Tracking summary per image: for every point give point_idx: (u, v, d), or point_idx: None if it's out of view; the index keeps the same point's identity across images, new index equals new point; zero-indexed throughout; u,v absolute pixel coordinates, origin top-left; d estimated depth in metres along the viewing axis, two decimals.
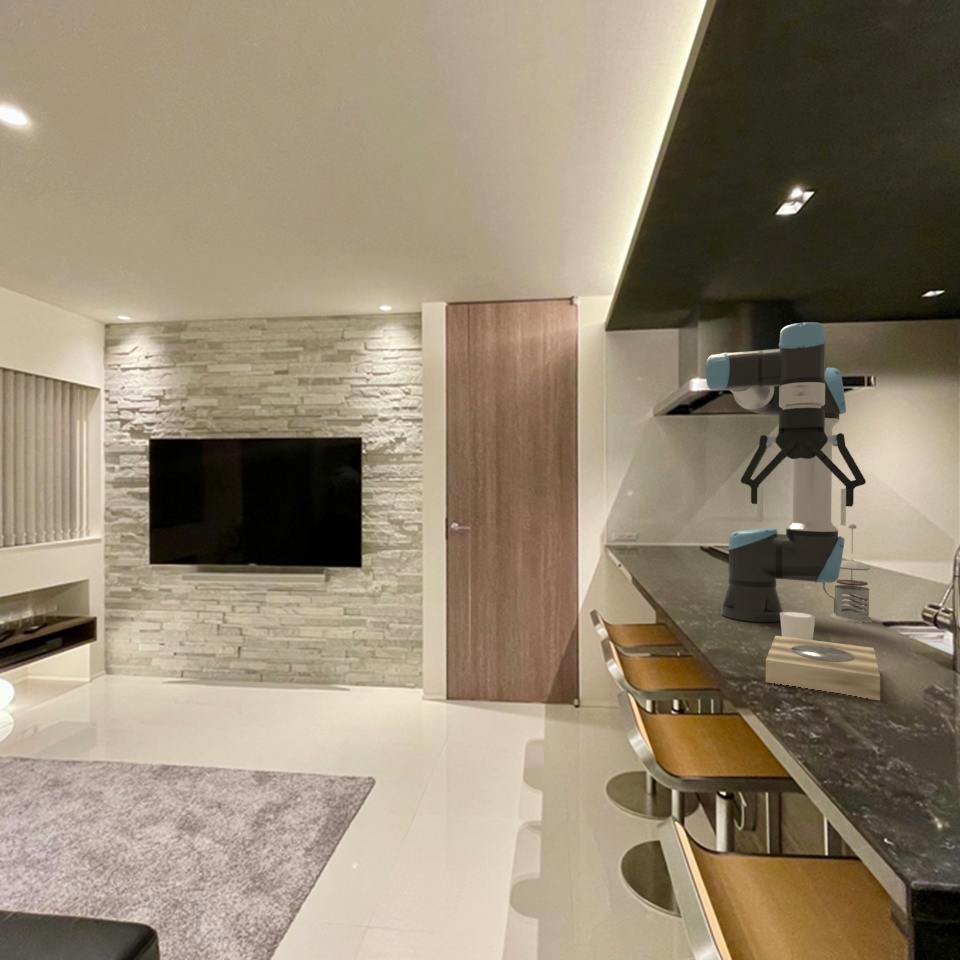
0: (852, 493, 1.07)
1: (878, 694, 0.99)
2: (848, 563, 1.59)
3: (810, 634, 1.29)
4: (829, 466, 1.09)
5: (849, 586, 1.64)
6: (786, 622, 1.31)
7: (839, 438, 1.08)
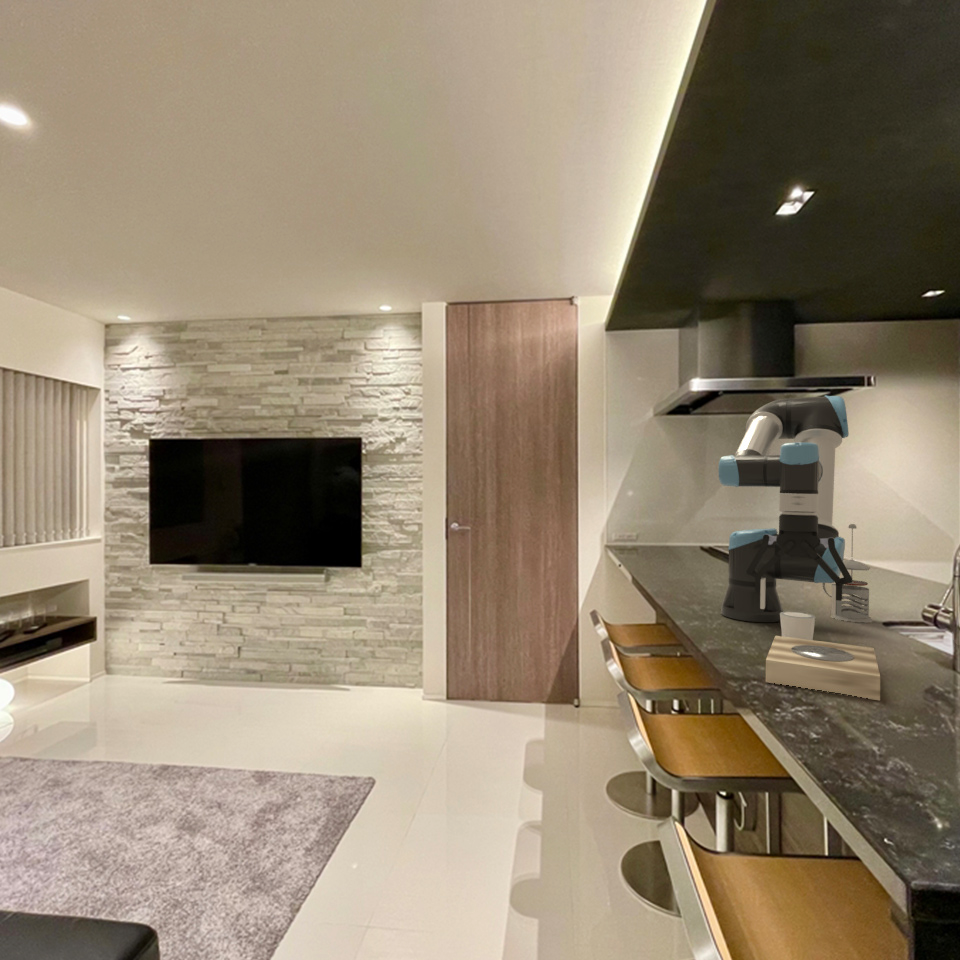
0: (841, 589, 1.27)
1: (878, 694, 0.99)
2: (848, 563, 1.59)
3: (810, 634, 1.29)
4: (821, 565, 1.28)
5: (849, 586, 1.64)
6: (786, 622, 1.31)
7: (830, 542, 1.28)
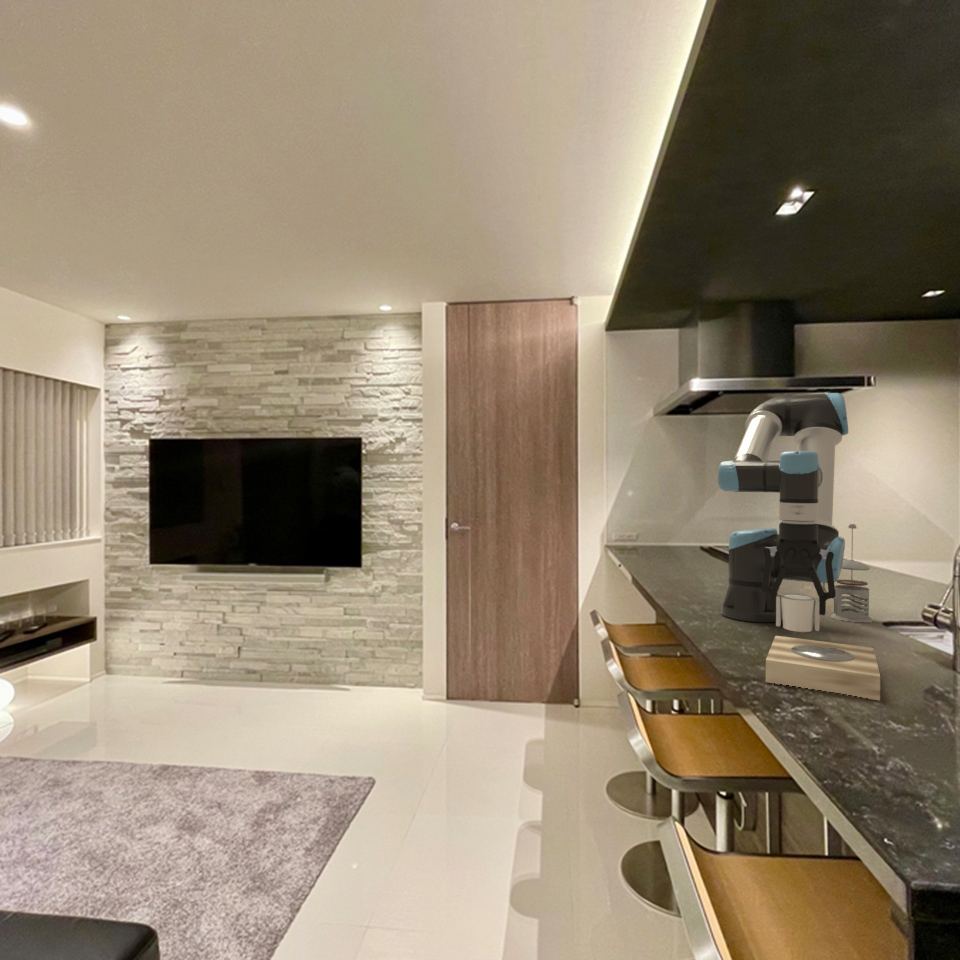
0: (824, 604, 1.29)
1: (878, 694, 0.99)
2: (848, 563, 1.59)
3: (810, 616, 1.30)
4: (812, 577, 1.30)
5: (849, 586, 1.64)
6: (787, 604, 1.31)
7: (829, 555, 1.28)
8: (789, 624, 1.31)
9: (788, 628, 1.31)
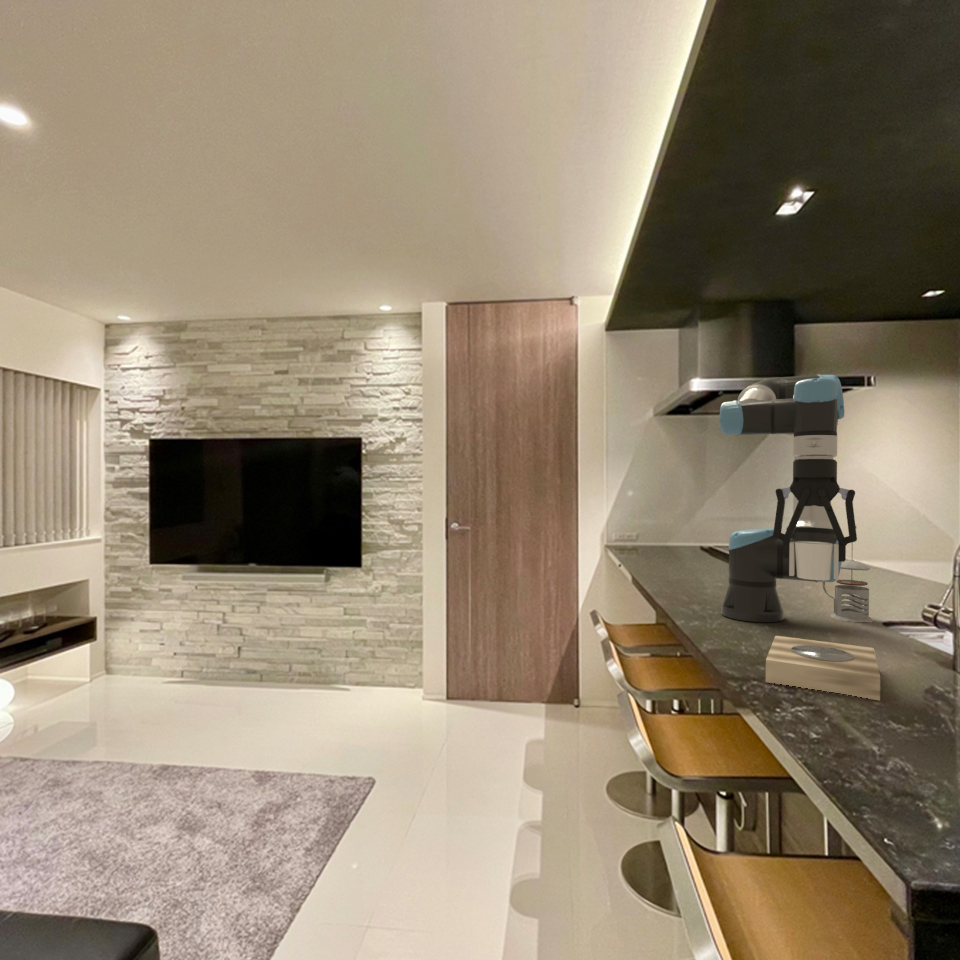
0: (844, 549, 1.15)
1: (878, 694, 0.99)
2: (848, 563, 1.59)
3: (828, 562, 1.15)
4: (831, 519, 1.16)
5: (849, 586, 1.64)
6: (801, 550, 1.17)
7: (850, 494, 1.14)
8: (804, 572, 1.16)
9: (803, 577, 1.17)
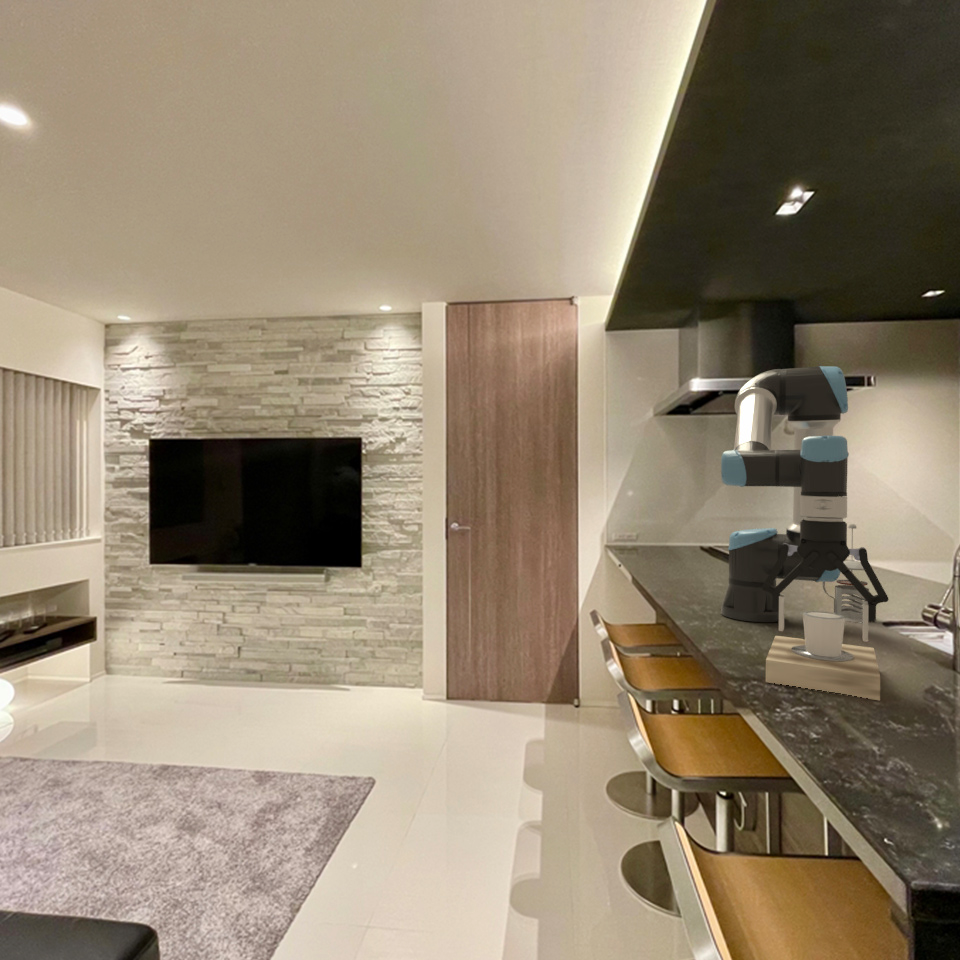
0: (874, 609, 1.07)
1: (878, 694, 0.99)
2: (848, 563, 1.59)
3: (839, 638, 1.09)
4: (851, 580, 1.09)
5: (849, 586, 1.64)
6: (811, 624, 1.11)
7: (862, 553, 1.08)
8: (814, 648, 1.11)
9: (812, 652, 1.11)
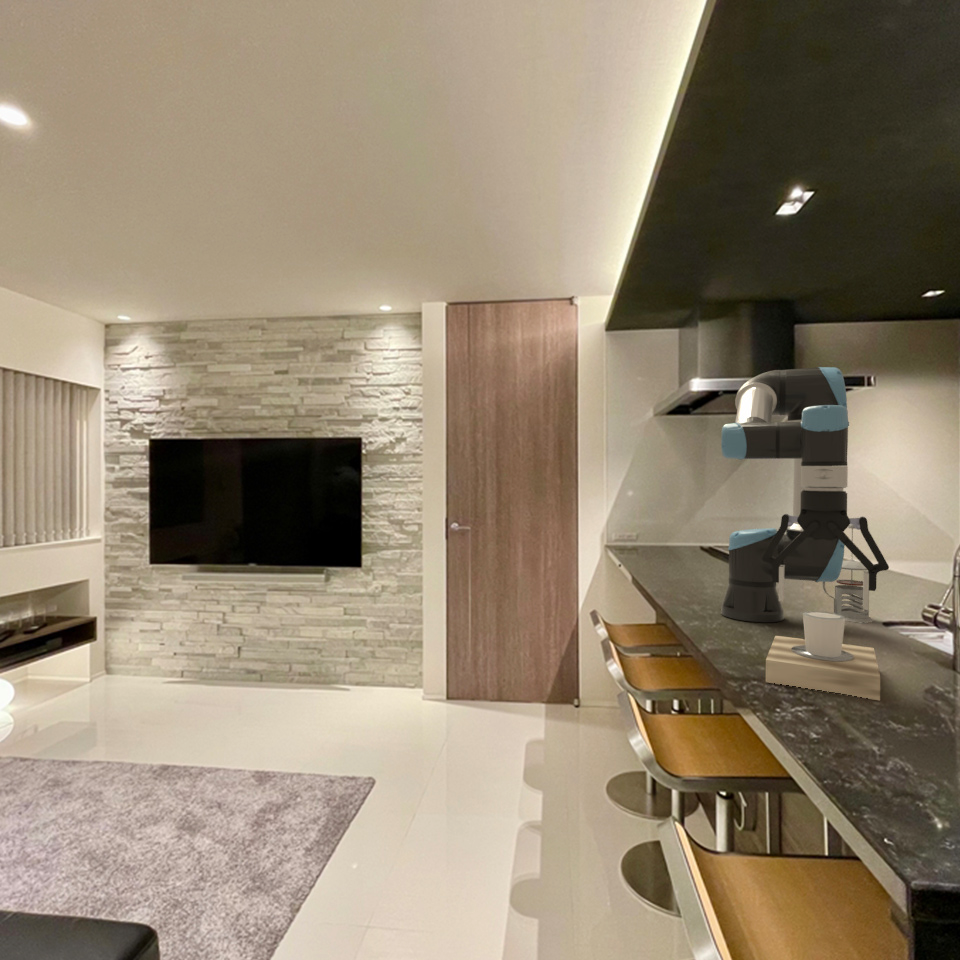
0: (875, 577, 1.08)
1: (878, 694, 0.99)
2: (848, 563, 1.59)
3: (839, 638, 1.09)
4: (852, 550, 1.09)
5: (849, 586, 1.64)
6: (811, 624, 1.11)
7: (862, 522, 1.08)
8: (814, 648, 1.10)
9: (812, 652, 1.11)
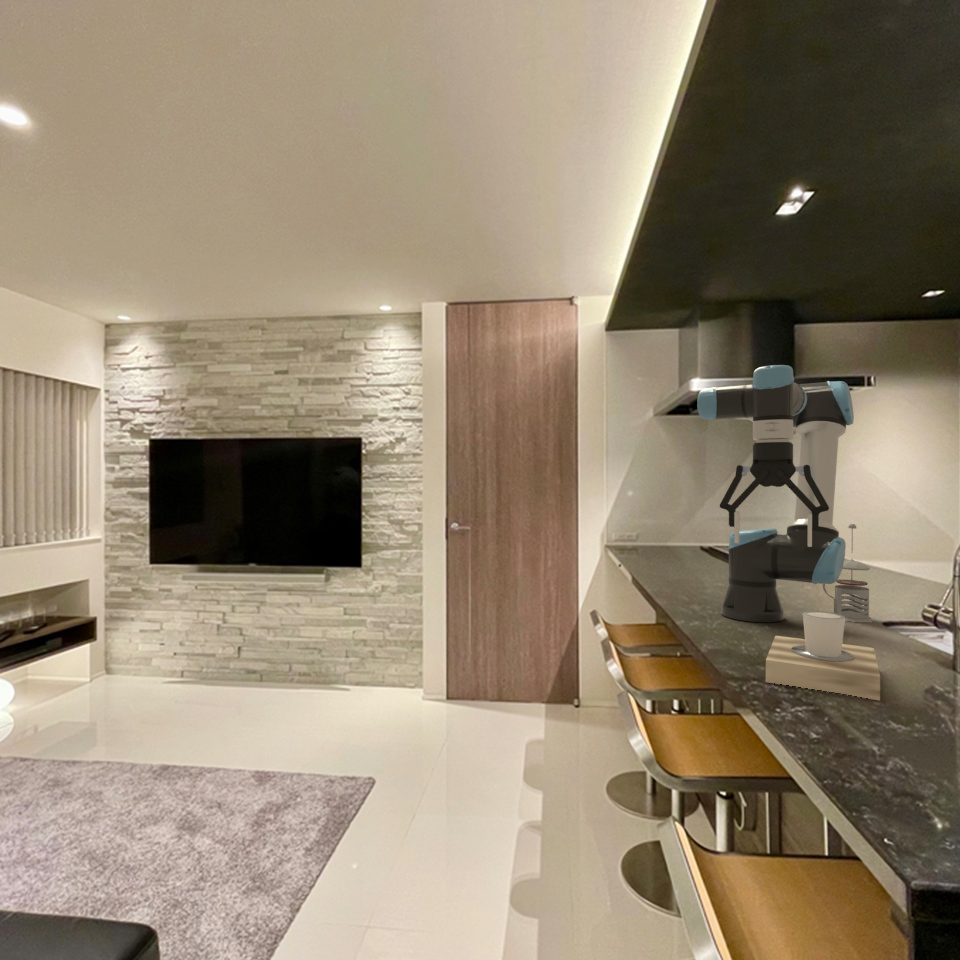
0: (817, 518, 1.21)
1: (878, 694, 0.99)
2: (848, 563, 1.59)
3: (839, 638, 1.09)
4: (797, 494, 1.22)
5: (849, 586, 1.64)
6: (811, 624, 1.11)
7: (806, 469, 1.21)
8: (814, 648, 1.10)
9: (812, 652, 1.11)
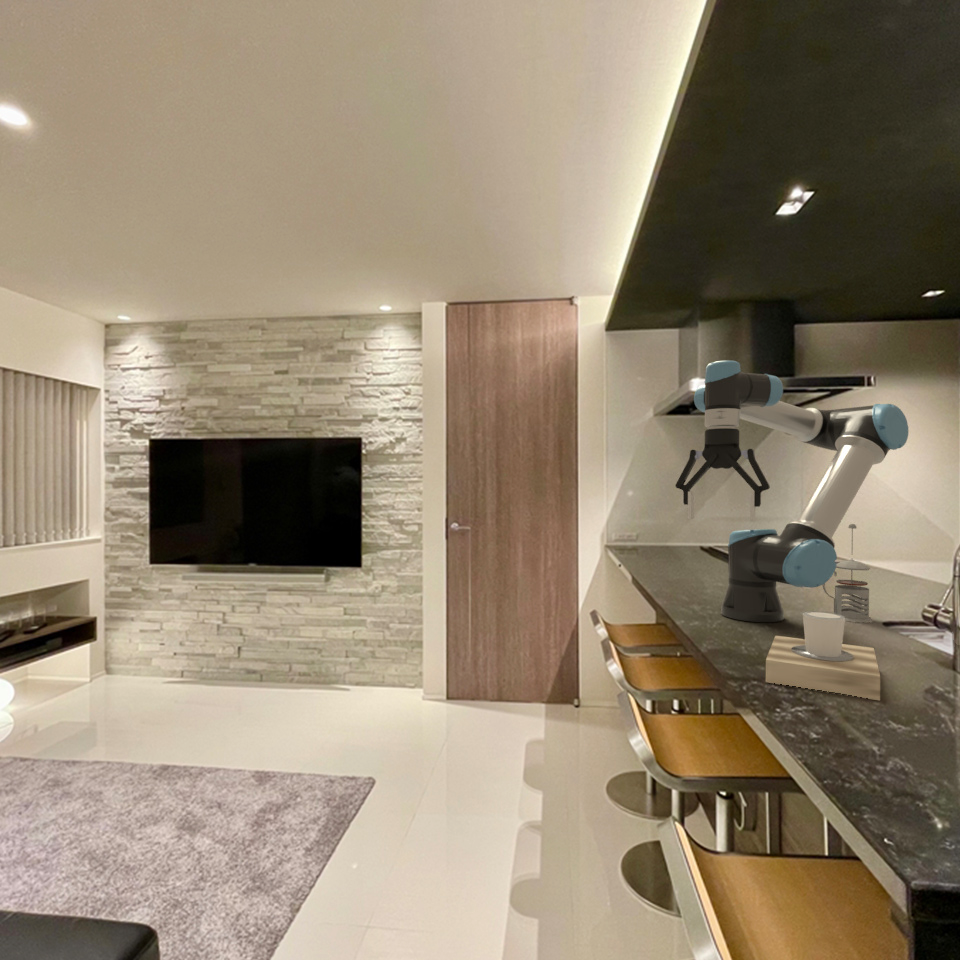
0: (759, 496, 1.36)
1: (878, 694, 0.99)
2: (848, 563, 1.59)
3: (839, 638, 1.09)
4: (742, 474, 1.38)
5: (849, 586, 1.64)
6: (811, 624, 1.11)
7: (749, 452, 1.37)
8: (814, 648, 1.10)
9: (812, 652, 1.11)
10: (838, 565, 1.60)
